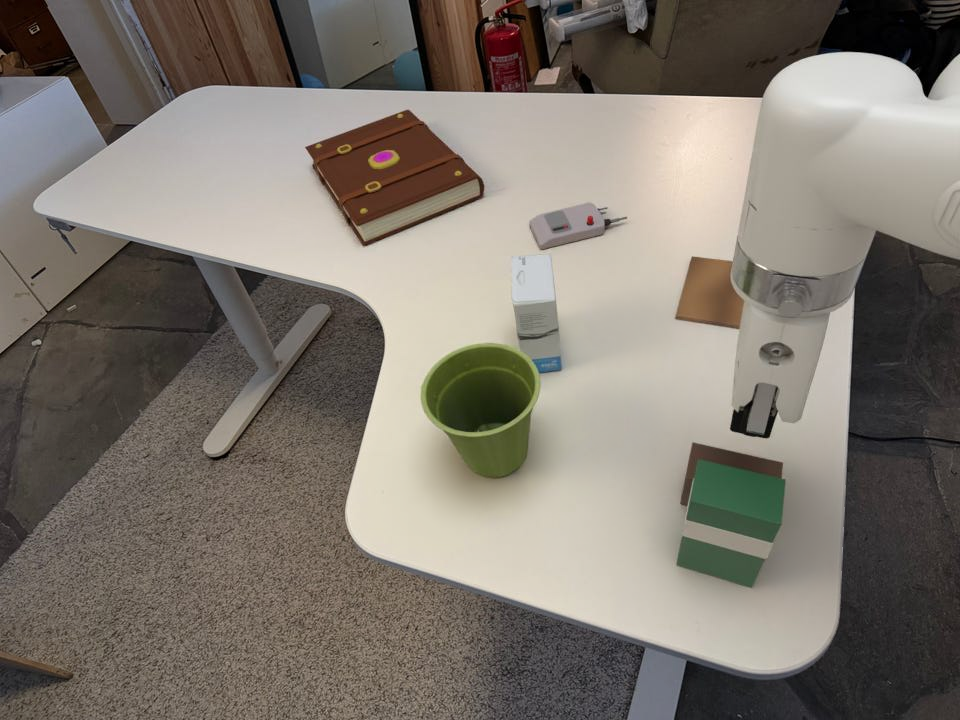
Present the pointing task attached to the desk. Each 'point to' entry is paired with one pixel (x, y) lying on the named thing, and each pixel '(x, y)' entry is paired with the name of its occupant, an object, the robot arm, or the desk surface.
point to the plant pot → (484, 404)
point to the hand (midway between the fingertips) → (750, 427)
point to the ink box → (536, 310)
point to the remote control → (569, 225)
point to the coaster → (710, 294)
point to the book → (392, 175)
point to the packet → (730, 522)
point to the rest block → (726, 459)
